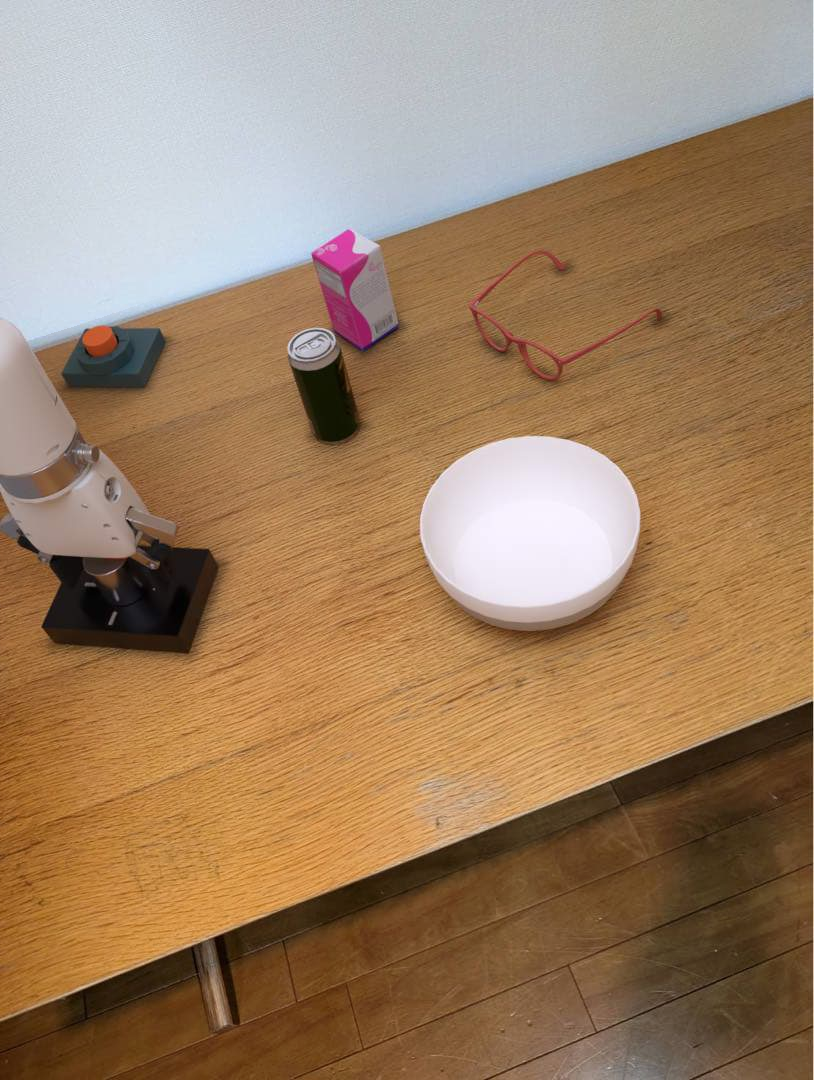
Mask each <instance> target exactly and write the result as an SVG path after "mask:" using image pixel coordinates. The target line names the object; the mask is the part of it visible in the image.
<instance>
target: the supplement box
mask: <svg viewBox="0 0 814 1080" xmlns="http://www.w3.org/2000/svg"><path fill="white" fill-rule="evenodd" d="M381 247H382V246H381V245H380V244H379V243H376V242H374V241H372V240H371V239H369V238H367V237H365V236H363V235H362V234H360V233H358V232H356V231H355V230H353V229H352V228H350V227H349V228H347V229H346V230H345V231H343V232H341V233H340V234H338V235H337V236H335V237H334V238H332V239H331V240H329V241H328V242H326V243H324V244H323V245H321V246H320V247H318V248H317V249H315V250H314V251H312V252H311V253H310V255H311V259H312V262H313V265H314V269H315V272H316V275H317V278H318V282H319V285H320V288H321V292H322V295H323V298H324V301H325V305H326V309H327V312H328V316H329V319H330V323H331V326H332V328H333V332H334V333H335V334H337V335H338V336H340V337H341V338H343V339H344V340H346V342H348V343H350V345H352V346H354V347H355V348H357V350H360V352H362V353H364V352H366V351H367V350H368V349H370V348H371V347H372V346H374V345H376V344H377V343H379V342H380V341H381V340H383V339H385V337H387V336H389V335H390V334H391V333H394V331H395V330H397V329H399V328H400V324H399V321H398V316H397V311H396V308H395V303H394V299H393V294H392V291H391V290H392V289H391V287H390V281H389V278H388V277H389V276H388V273H387V269H386V265H385V260H384V257H383V256H384V255H383V252H382V248H381Z"/></svg>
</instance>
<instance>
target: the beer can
mask: <svg viewBox="0 0 814 1080" xmlns="http://www.w3.org/2000/svg"><path fill="white" fill-rule="evenodd" d="M286 349H287V360H288V363H289V367H290V369H291V373H292V375H293V378H294V381H295V384H296V388H297V391H298V394H299V396H300V399H301V402H302V406H303V408H304V411H305V414H306V418H307V421H308V423H309V426H310V429H311V433H312V435H313V436H314V437H315V438H316V439H317V440H318V441H320V442H321V443H323V444H325V445H332V446H335V445H342V444H343V443H344V444H345V443H346V442H348V441H350V440H351V439H353V438H354V437H355V436H356V434H357V432H358V431H359V428H360V425H361V424H360V423H361V418H360V414H359V411H358V410H359V409H358V407H357V402H356V398H355V396H354V391H353V389H352V384H351V381H350V378H349V374H348V369H347V366H346V362H345V359H344V355H343V352H342V348H341V345H340V343H339V341H338V340H337V339H336V336H335V334H334V333H333V332H332V331H331V330H330V329H326V328H322V327H313V328H311V327H310V328H306V329H303V330H301V331H300V332H297V333H296V334H295V335H293V337H292V338H291V339H290V340H289V342H288V344H287V348H286Z"/></svg>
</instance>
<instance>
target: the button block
mask: <svg viewBox="0 0 814 1080" xmlns="http://www.w3.org/2000/svg"><path fill="white" fill-rule="evenodd" d="M107 326H108V325H107ZM108 327H110V328H111V329H112V331H113V333H114V335H115V337H116V339H117V342H118V343H117V347H116V348H115V349H114V350H113V351H112V352H111V353H109V354H107V355H104V356H101V357H93V356H91V355H90V354H89V353H88V351H87V349H86V347H85V345H84V344H83V341H82V338H83V335H84V334H85V333H86V332H87V331H88V330H89V329H90V328H85V329H84V330H83V332H82V334H81V336H80V338H79V340H78V341H77V343H76V345H75V347H74V348H73V350H72V352H71V354H70V356H69V358H68V360H67V362H66V364H65V366H64V368H63V369H62V371H61V374H60V375H61V376H62V378H63V379H64V382H65V383H66V385H67V387H69V388H145V387H146V385H147V383H148V381H149V380H150V377H151V374H152V372H153V371H154V368H155V366H156V364H157V361H158V360H159V357H160V355H161V352H162V350H163V349H164V346H165V344H166V342H167V341H166V339H165V337H164V335H163V333H162V330H161V329H160V327H138V328H137V327H135V328H134V327H133V328H132V327H130V328H129V327H128V328H127V327H126V328H125V327H124V328H123V327H122V328H121V327H120V326H117V325H115V326H114V325H113V326H108Z"/></svg>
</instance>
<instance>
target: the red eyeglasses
mask: <svg viewBox="0 0 814 1080" xmlns="http://www.w3.org/2000/svg"><path fill="white" fill-rule="evenodd" d="M536 255H544V256H547V257H548V258H550V260H551V261H552V262H553V263H554V265H555V266H556V267H557V269H559V270H560V271H563V270H565V268H566V266H565V265H564V264H563V263H562V262H561V261H560V260H559V259H558V258H557V257H556V256H554V254H552V253H551V252H549V251H547V250H541V249H540V250H534V251H532V252H529V253H527V254H526V255H525V256H523V257H521V258H520V259H519V260H518V261H517V262H516V263H514V264H513V265H512V266H511V267H509V269H507V270H506V271H504V273H503V274H502V275H501V276H499V277H498V278H497V279H495V281H493V282H492V283H491V284H490V285H488V286H487V287H486V288H485V289H484V290H483V291H482V292H481V293H480V294H479V295H478V296H477V297H475V298H474V299H473V300H472V301H471V302H470V303H469V304H468V308H469V310H470V312H471V314H472V316H473V320H474V321H475V324H476V326H477V328H478V330H479V332H480V333H481V335H482V337H483V338H484V339H485V340H486V342H487V343H488V344H489V345H490V347H492V348H493V349H494V350H496V351H498V352H501V353H503V352H507V351H508V350H509V348H510V346H511V345H512V343H514V344H516V345H517V348H518V351H519V353H520V355H521V357H522V359H523V360H524V362H525V363H526V365H527V366H528V367H529V368H530V369H531V371H533V372H534V373H535V374H536V375H537V376H538V377H540V378H542V379H545V380H548V381H556V380H558V379H559V378H560V377H561V375H562V373H563V367H564V366H566V365H568V364H570V363H572V362H573V361H576V360H578V359H579V358H581V357H583V356H585V355H587V354H589V353H591V352H593V351H594V350H596V349H597V348H599V347H600V346H602V345H604V344H606V343H607V342H608V341H610V340H613V339H614V338H615V337H617V336H619V335H621V334H622V333H625V331H627V330H629V329H630V328H632V327H634V326H635V325H636V324H638V323H640V322H641V321H642V320H644V319H645V318H646V317H648V316H650V315H652V314H653V313H656V320H657V321H660V320H661V319H662V317H663V314H662V311H661V309H659V308H653V309H651V310H649V311H648V312H646V313H644V314H643V315H641V316H640V317H639V318H637V319H635V320H634V321H632V322H630V323H629V324H627V325H625V326H623V327H621V328H620V329H618V330H616V331H615V332H613V333H611V334H609V335H608V336H606V337H604V338H603V339H600V340H599V341H596V342H594V343H592V344H590V345H588V346H586V347H584V348H582V349H579V350H578V351H576V352H574V353H573V354H570V355H568V356H566V357H564V358H562V357H561V356H558V355H557V354H555V353H553V352H552V351H550V350H548V349H547V348H545V347H543V346H542V345H540V344H538V343H535V342H533V341H531V340H530V339H527V338H526V339H525V338H519V337H516V336H514V334H513V333H512V332H510V331H508V330H507V329H506V328H504V327H503V326H502V324H500V323H499V321H497V320H495V319H494V318H493V317H491V316H490V315H488V314H487V313H485V312H484V311H482V310H481V309H479V308H477V306H478V305H479V304H480V303H481V302H482V301H483V300H484V299H485V298H486V297H487V296H488V295H489V294H490V293H491V292H492V291H493V290H494V289H495V288H496V287H497V286H498V285H499V284H500V283H501V282H502V281H503V280H505V278H506V277H507V276H508V275H509V274H511V273H512V272H513V271H515V269H516V268H518V267H519V266H520V265H521V264H522V263H523V262H525V261H526V260H528V259H529V258H531V257H532V256H536ZM478 315H480V316H481V317H483V318H484V319H486V320H487V321H489V322H491V324H493V325H494V326H495V327H496V328H497V329H498V330H499V331H500V332H501V333H502V335H503V337H504V338H505V342H506V346H505V347H501V346H499V345H497V344H495V343H494V342H493V341H492V340H491V338H490V337H489V336H488V335H487V334H486V332H485V330H484V328H483V326H482V325H481V322H480V320H479V317H478ZM527 345H529V346H531V347H532V348H533V347H534V348H535V349H537V350H539V351H540V352H542V353H544V354H546V355H547V356H548V357H550V358H551V360H552V361H554V363H555V365H556V367H557V374H556V375H554V376H550V375H547V374H544V373H543V372H541V371H540V370H539V369H537V368H536V366H534V363H532V361H531V358H530V356H529V351H528V348H527Z"/></svg>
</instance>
